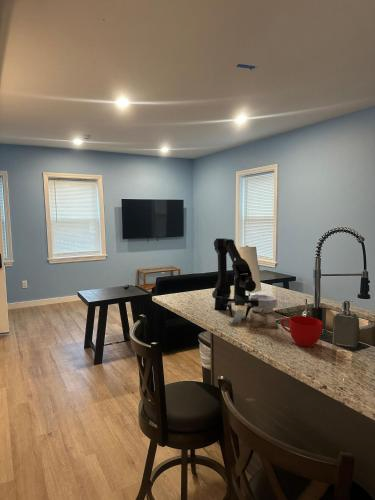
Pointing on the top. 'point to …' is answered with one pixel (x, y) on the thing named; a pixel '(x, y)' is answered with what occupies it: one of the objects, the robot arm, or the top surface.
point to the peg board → (259, 321)
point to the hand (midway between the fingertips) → (238, 318)
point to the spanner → (238, 316)
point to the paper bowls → (264, 303)
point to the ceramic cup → (304, 330)
